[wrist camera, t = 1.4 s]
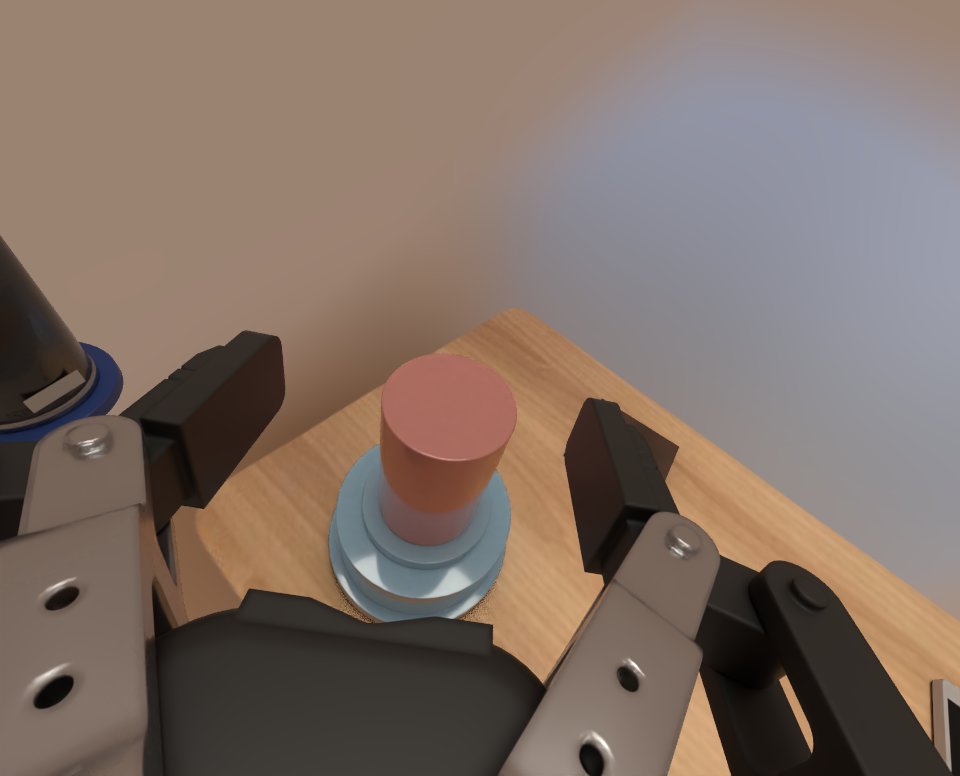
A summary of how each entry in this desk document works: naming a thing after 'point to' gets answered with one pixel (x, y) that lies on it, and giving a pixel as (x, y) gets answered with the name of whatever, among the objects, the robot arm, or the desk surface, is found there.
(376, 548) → the blue stepped cylinder
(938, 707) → the smartphone
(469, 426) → the terracotta cylinder
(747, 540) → the desk surface
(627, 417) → the coaster
